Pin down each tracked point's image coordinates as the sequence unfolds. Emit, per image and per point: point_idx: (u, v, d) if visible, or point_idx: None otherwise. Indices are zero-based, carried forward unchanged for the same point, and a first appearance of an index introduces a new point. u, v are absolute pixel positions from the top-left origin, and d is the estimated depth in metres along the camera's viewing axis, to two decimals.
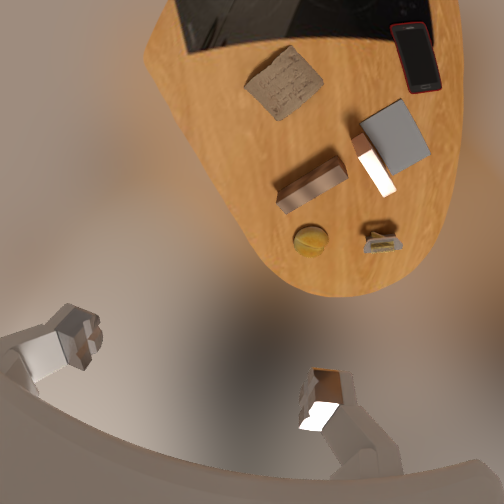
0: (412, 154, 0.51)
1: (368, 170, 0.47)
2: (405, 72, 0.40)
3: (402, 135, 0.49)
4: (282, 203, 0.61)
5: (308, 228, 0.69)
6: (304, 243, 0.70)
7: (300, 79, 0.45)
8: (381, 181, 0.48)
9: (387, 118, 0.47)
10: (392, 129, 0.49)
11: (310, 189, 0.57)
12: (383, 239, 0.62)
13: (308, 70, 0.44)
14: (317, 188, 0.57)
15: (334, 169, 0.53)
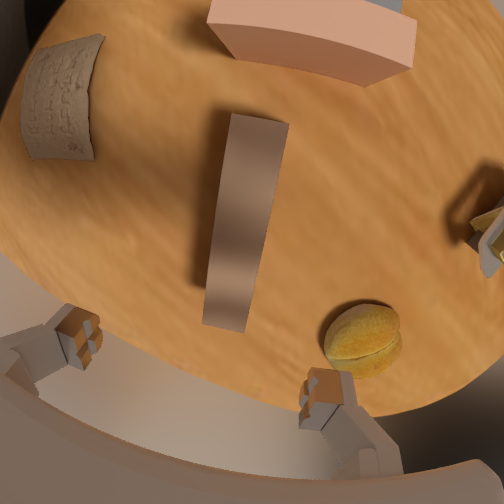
0: None
1: (276, 24, 0.10)
2: None
3: None
4: (212, 314, 0.22)
5: (336, 322, 0.26)
6: (349, 357, 0.25)
7: (63, 65, 0.17)
8: (352, 24, 0.09)
9: None
10: None
11: (231, 236, 0.19)
12: None
13: (70, 46, 0.17)
14: (244, 220, 0.19)
15: (232, 134, 0.16)
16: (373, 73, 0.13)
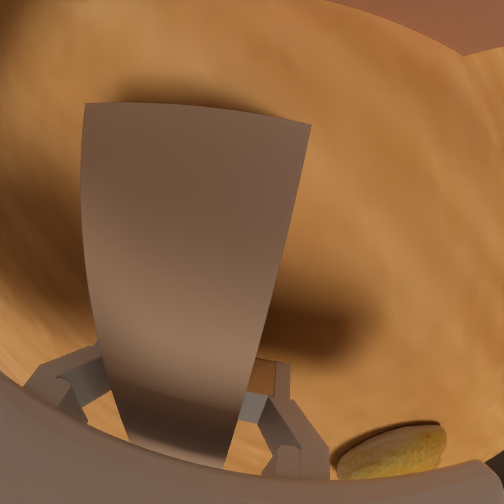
0: None
1: None
2: None
3: None
4: None
5: (359, 454, 0.14)
6: None
7: None
8: None
9: None
10: None
11: (157, 422, 0.07)
12: None
13: None
14: (178, 406, 0.06)
15: (91, 181, 0.04)
16: None
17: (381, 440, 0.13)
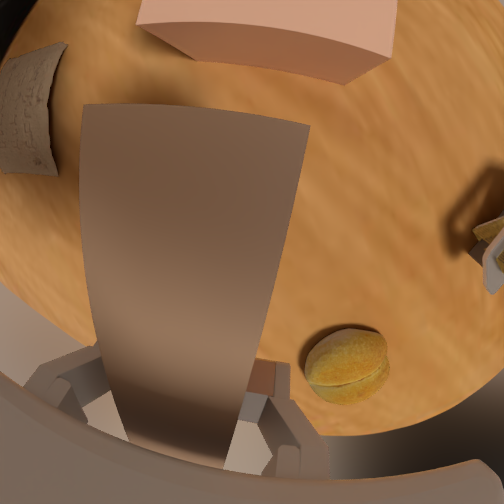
0: None
1: (214, 15, 0.08)
2: None
3: None
4: None
5: (317, 348, 0.24)
6: (330, 384, 0.23)
7: (27, 77, 0.15)
8: (311, 6, 0.07)
9: None
10: None
11: (157, 424, 0.07)
12: None
13: (35, 56, 0.15)
14: (177, 407, 0.06)
15: (89, 182, 0.04)
16: (347, 68, 0.11)
17: (331, 336, 0.24)
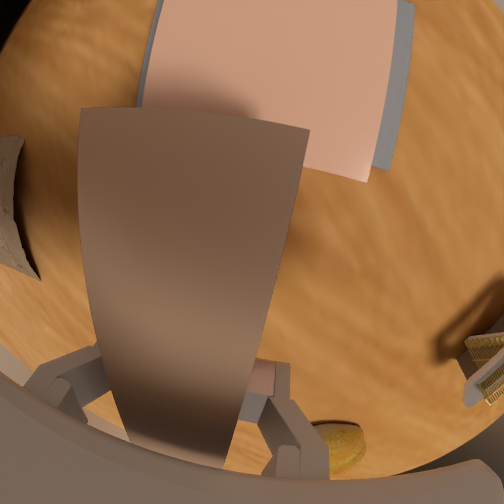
0: None
1: None
2: None
3: None
4: None
5: None
6: None
7: None
8: None
9: None
10: None
11: (157, 424, 0.07)
12: None
13: None
14: (178, 408, 0.06)
15: (88, 186, 0.04)
16: (370, 60, 0.09)
17: None
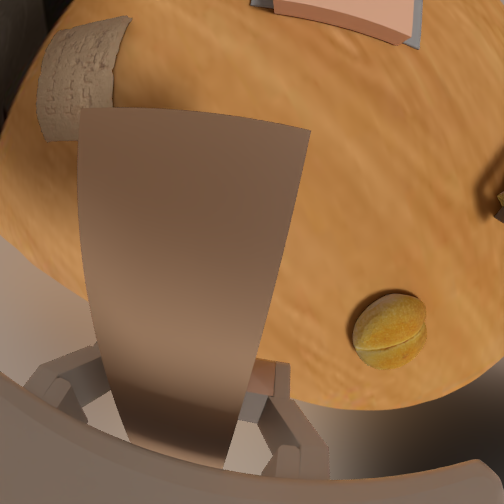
0: None
1: None
2: None
3: None
4: None
5: (366, 313, 0.26)
6: (378, 347, 0.25)
7: (87, 45, 0.17)
8: None
9: None
10: None
11: (157, 424, 0.07)
12: None
13: (94, 27, 0.17)
14: (178, 409, 0.06)
15: (88, 187, 0.04)
16: None
17: (379, 300, 0.25)
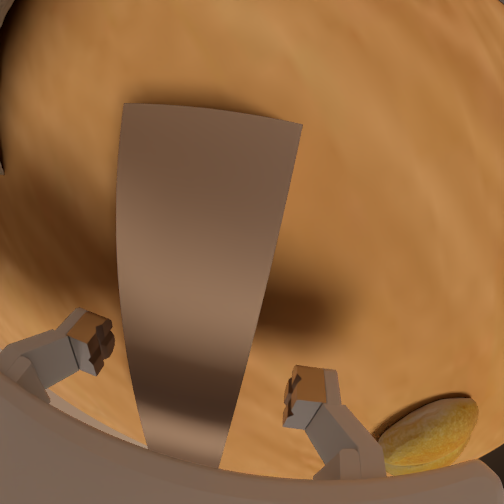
0: None
1: None
2: None
3: None
4: None
5: (401, 429, 0.14)
6: (409, 464, 0.13)
7: None
8: None
9: None
10: None
11: (168, 390, 0.08)
12: None
13: None
14: (189, 370, 0.07)
15: (127, 166, 0.05)
16: None
17: (422, 413, 0.14)
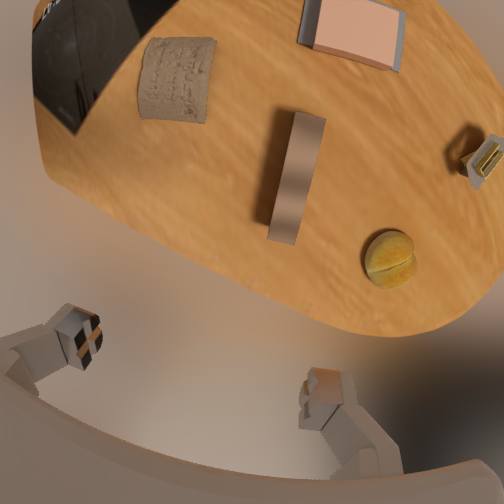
0: None
1: None
2: None
3: None
4: (275, 231, 0.36)
5: (373, 243, 0.39)
6: (383, 268, 0.38)
7: (185, 54, 0.30)
8: None
9: None
10: None
11: (292, 179, 0.33)
12: (482, 148, 0.27)
13: (187, 41, 0.30)
14: (300, 169, 0.32)
15: (295, 122, 0.30)
16: (390, 31, 0.24)
17: (381, 235, 0.38)
